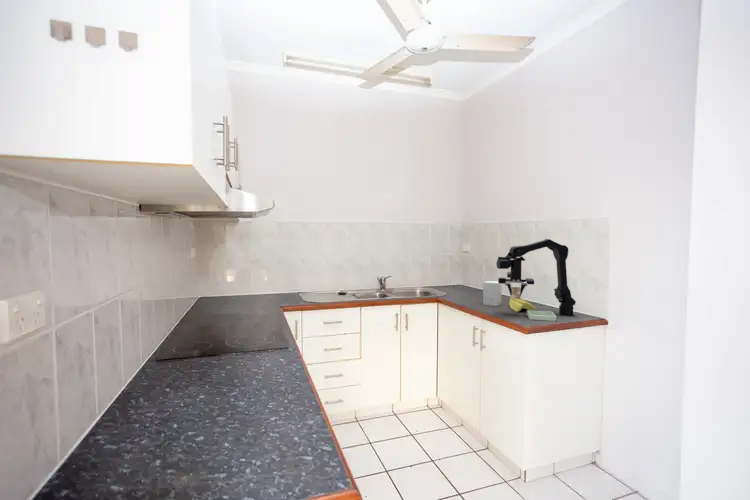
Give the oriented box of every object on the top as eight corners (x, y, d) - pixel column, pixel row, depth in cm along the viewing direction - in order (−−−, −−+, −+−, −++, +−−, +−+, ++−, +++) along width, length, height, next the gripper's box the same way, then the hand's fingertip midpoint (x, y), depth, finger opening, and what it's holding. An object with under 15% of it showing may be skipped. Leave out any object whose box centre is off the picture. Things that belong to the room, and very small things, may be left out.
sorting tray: (552, 315, 207) (552, 311, 207) (556, 321, 195) (556, 316, 194) (527, 314, 211) (527, 310, 211) (529, 319, 198) (529, 315, 198)
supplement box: (501, 304, 241) (501, 281, 241) (496, 306, 235) (496, 283, 234) (488, 302, 247) (488, 280, 247) (482, 304, 240) (482, 281, 240)
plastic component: (537, 308, 217) (522, 301, 216) (531, 319, 217) (516, 312, 217) (524, 299, 236) (510, 293, 236) (518, 310, 237) (504, 303, 236)
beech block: (519, 297, 211) (519, 287, 210) (520, 299, 206) (520, 288, 206) (511, 297, 212) (511, 287, 212) (511, 298, 208) (511, 288, 207)
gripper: (532, 267, 213) (531, 294, 214) (498, 267, 219) (497, 293, 220) (534, 269, 203) (534, 297, 204) (498, 268, 208) (498, 296, 209)
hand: (515, 296), depth 209 cm, fingers closed on beech block, 4 cm apart
